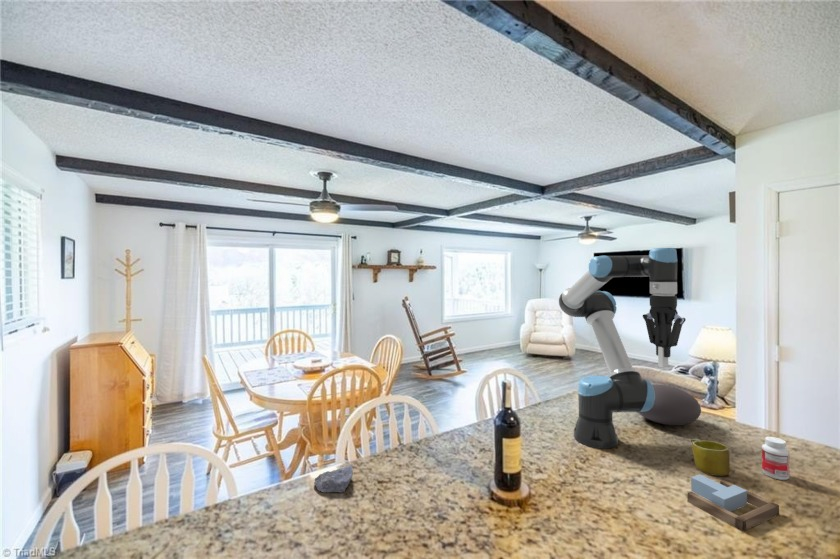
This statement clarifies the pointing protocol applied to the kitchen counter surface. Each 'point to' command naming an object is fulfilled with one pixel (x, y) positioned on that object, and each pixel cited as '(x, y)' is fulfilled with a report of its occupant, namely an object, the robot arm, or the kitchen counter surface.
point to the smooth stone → (672, 406)
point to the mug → (711, 457)
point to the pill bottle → (775, 458)
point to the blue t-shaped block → (719, 493)
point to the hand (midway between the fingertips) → (663, 366)
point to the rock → (334, 480)
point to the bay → (741, 522)
